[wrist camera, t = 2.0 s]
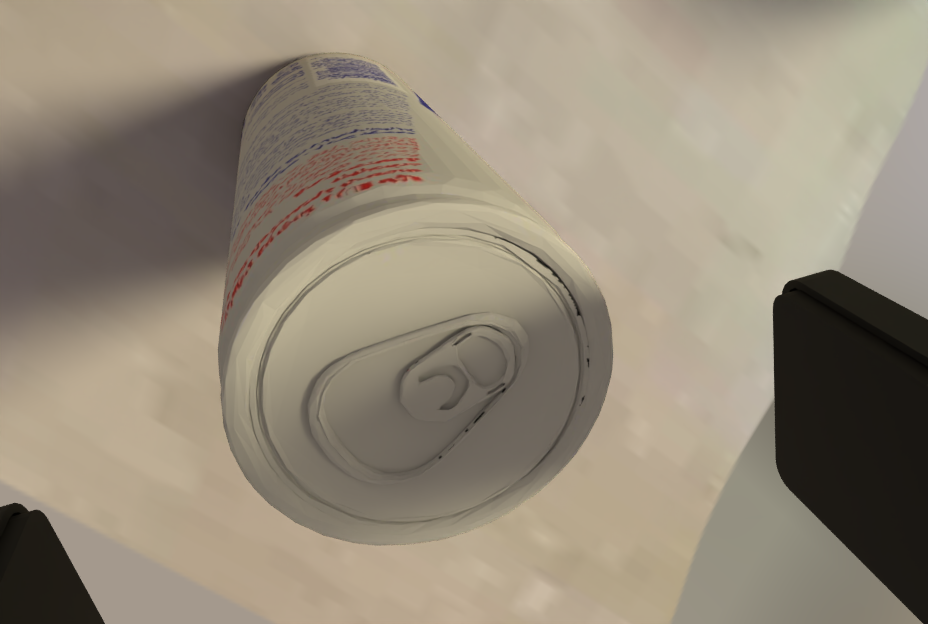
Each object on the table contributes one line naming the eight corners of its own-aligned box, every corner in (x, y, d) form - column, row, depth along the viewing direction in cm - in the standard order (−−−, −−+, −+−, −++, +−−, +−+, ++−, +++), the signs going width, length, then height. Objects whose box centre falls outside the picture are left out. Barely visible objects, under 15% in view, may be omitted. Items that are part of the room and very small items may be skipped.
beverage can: (217, 201, 24) (160, 522, 11) (275, 18, 22) (293, 131, 9) (389, 256, 26) (522, 585, 13) (455, 93, 24) (688, 274, 11)
